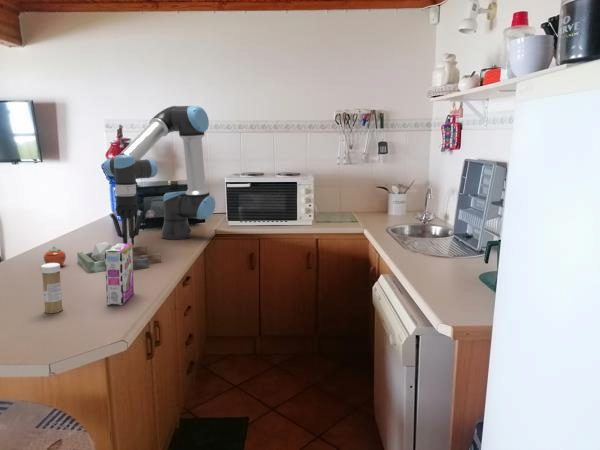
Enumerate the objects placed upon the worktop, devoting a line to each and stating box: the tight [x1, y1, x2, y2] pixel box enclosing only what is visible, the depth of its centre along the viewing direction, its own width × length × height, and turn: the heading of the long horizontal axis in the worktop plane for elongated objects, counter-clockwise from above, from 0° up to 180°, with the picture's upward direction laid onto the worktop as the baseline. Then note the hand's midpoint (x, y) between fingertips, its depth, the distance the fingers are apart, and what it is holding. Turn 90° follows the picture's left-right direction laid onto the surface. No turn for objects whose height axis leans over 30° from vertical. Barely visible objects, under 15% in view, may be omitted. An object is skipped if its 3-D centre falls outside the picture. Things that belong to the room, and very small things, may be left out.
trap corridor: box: [76, 245, 162, 274], centre depth 173 cm, size 27×27×4 cm
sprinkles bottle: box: [40, 263, 64, 314], centre depth 121 cm, size 5×5×14 cm
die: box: [91, 241, 114, 262], centre depth 173 cm, size 8×9×10 cm
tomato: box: [43, 245, 67, 268], centre depth 165 cm, size 7×7×8 cm
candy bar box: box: [105, 242, 135, 306], centre depth 132 cm, size 11×5×16 cm, turn 5°
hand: (129, 253), depth 175 cm, fingers closed
